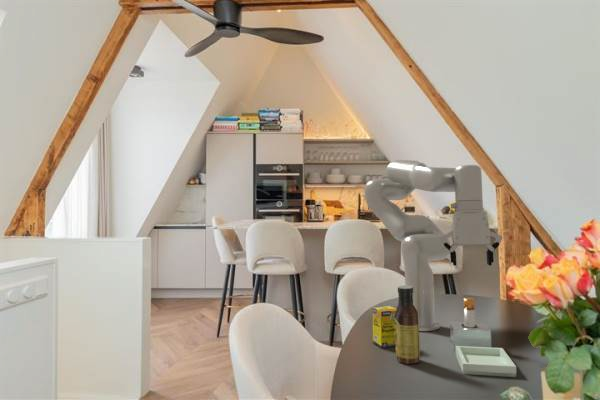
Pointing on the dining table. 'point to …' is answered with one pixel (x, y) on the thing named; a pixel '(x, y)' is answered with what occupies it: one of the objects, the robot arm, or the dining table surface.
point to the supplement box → (384, 326)
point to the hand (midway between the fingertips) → (471, 265)
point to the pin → (469, 312)
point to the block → (470, 335)
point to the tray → (485, 361)
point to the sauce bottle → (407, 327)
